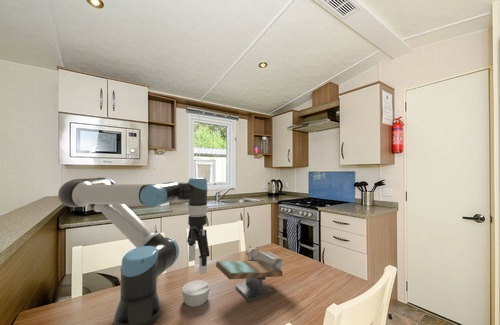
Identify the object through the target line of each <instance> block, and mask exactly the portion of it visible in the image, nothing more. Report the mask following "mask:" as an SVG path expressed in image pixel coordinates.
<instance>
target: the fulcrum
mask: <svg viewBox="0 0 500 325" xmlns="http://www.w3.org/2000/svg"><path fill="white" fill-rule="evenodd" d="M235 289H236V290H237V291H238V292H239V293H240V294H241V295H242V296H243V298H245V299H246V300H247V301H248V302H250V303H251V302H253V301H257V300H259V299H262V298H263V297H267V296H269V295H272V294H273V293H274V290H273V289H272V288H270V286H268V285H266V284H265V283H264V282H263V280H262V279H261V278H246V279H245V282H242V283H238V284H235Z"/></svg>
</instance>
